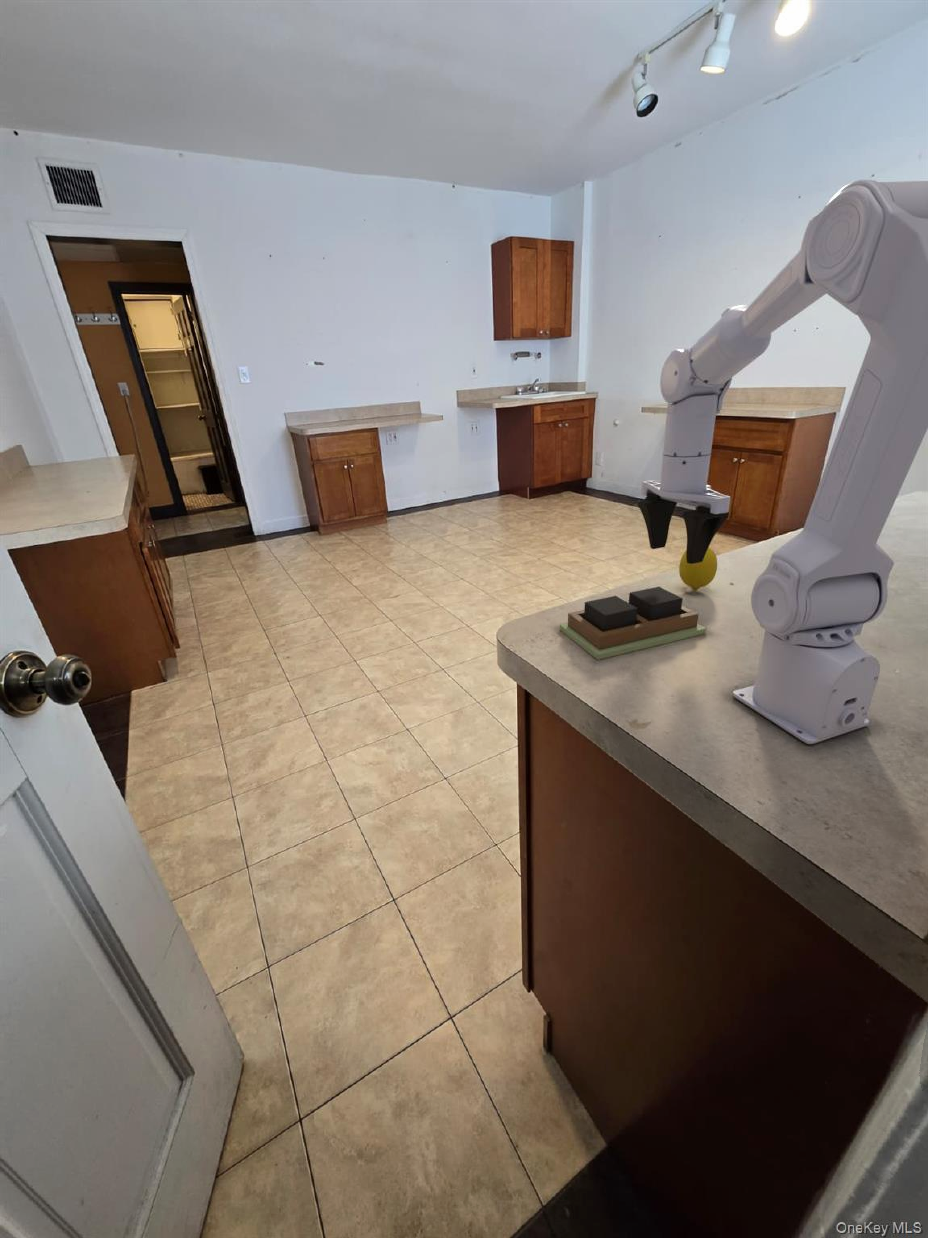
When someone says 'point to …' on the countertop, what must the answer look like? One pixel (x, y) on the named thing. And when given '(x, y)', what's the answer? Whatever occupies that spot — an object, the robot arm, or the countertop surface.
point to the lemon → (698, 570)
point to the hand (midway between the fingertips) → (675, 554)
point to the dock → (631, 633)
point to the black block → (655, 603)
